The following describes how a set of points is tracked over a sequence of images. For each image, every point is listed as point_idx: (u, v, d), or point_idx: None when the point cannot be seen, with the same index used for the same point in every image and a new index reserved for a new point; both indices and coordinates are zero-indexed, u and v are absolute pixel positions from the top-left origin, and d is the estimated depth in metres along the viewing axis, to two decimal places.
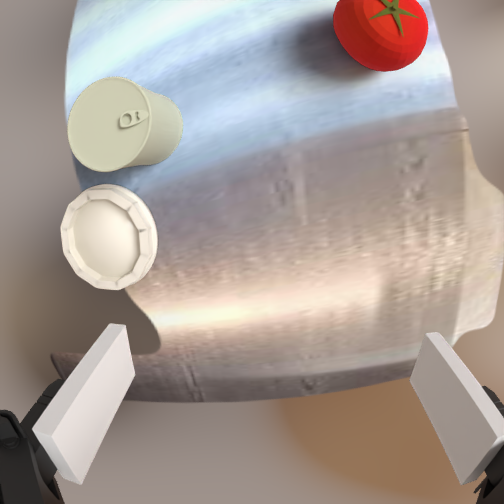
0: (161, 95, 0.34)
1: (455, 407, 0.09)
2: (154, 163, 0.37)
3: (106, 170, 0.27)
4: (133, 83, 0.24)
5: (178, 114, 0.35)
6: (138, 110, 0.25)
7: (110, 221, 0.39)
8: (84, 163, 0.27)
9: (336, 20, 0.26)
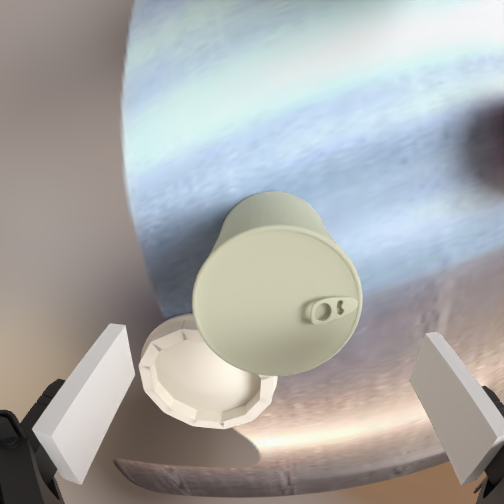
0: (299, 199, 0.26)
1: (455, 407, 0.09)
2: None
3: (273, 375, 0.18)
4: (336, 248, 0.15)
5: None
6: (342, 296, 0.16)
7: (213, 359, 0.31)
8: (232, 363, 0.18)
9: None
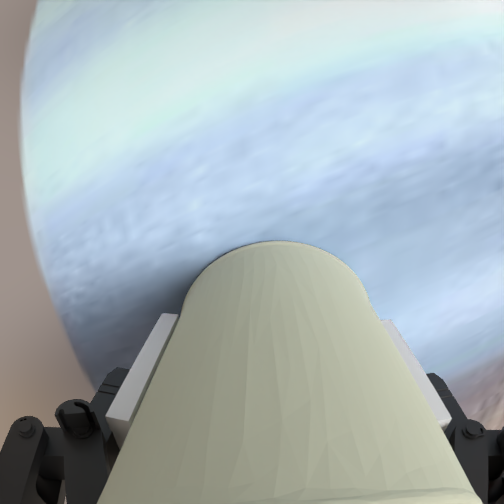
0: (328, 257, 0.13)
1: None
2: None
3: None
4: None
5: None
6: None
7: None
8: None
9: None
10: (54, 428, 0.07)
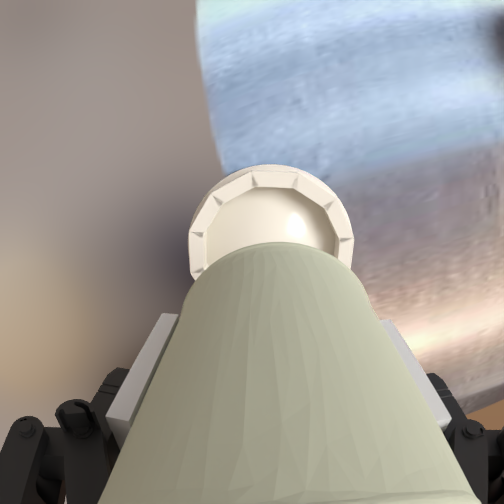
0: (328, 258, 0.13)
1: None
2: None
3: None
4: None
5: None
6: None
7: (280, 223, 0.27)
8: None
9: None
10: (54, 428, 0.07)
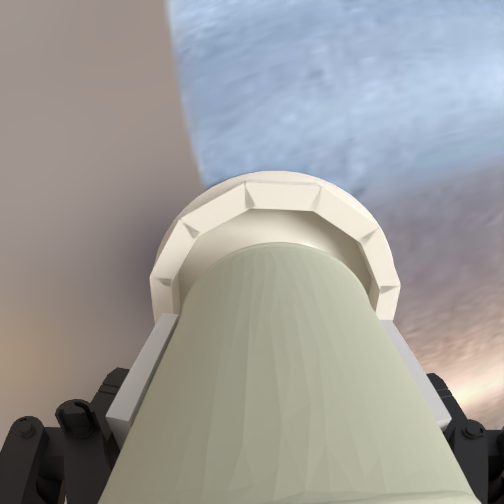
0: (328, 258, 0.13)
1: None
2: None
3: None
4: None
5: None
6: None
7: None
8: None
9: None
10: (54, 428, 0.07)
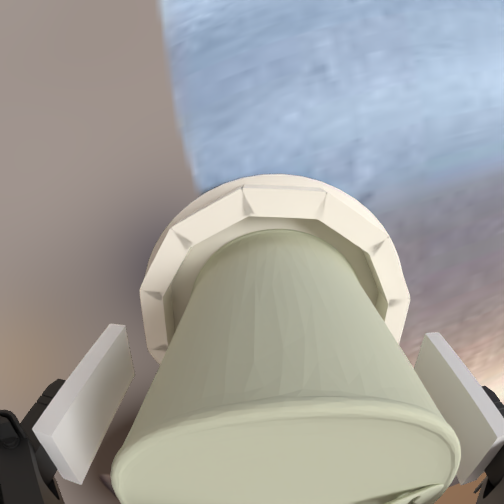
0: (322, 243, 0.15)
1: (455, 407, 0.09)
2: None
3: None
4: (439, 429, 0.05)
5: None
6: (421, 489, 0.06)
7: None
8: None
9: None
10: None
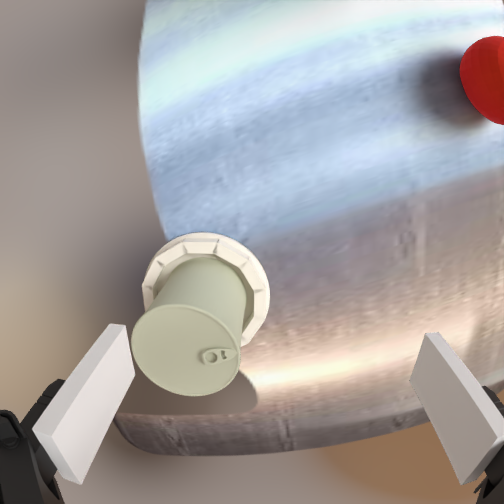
0: (220, 263, 0.34)
1: (455, 407, 0.09)
2: None
3: (189, 395, 0.26)
4: (214, 318, 0.23)
5: (243, 288, 0.34)
6: (224, 348, 0.24)
7: None
8: (161, 386, 0.26)
9: (473, 69, 0.23)
10: None
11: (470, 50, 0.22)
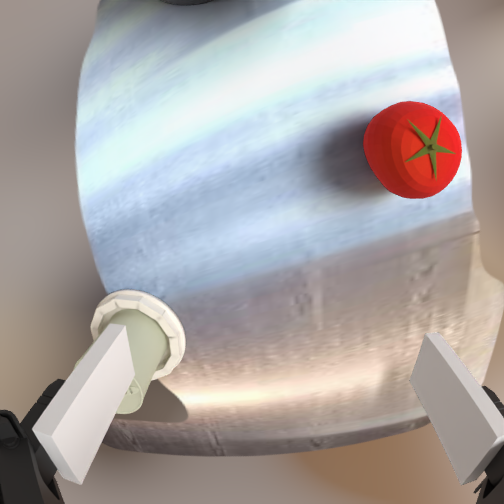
0: (144, 315, 0.41)
1: (455, 407, 0.09)
2: None
3: None
4: None
5: (161, 334, 0.42)
6: (130, 386, 0.32)
7: None
8: None
9: (368, 146, 0.30)
10: None
11: (370, 123, 0.29)
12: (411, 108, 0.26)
